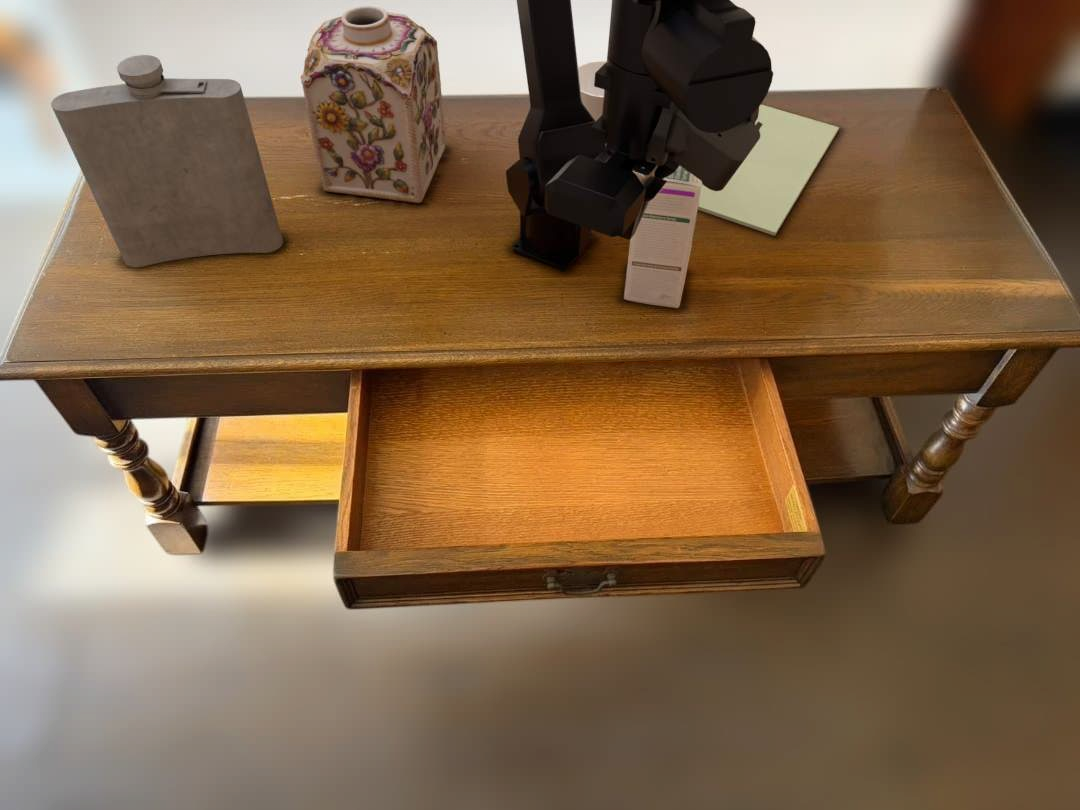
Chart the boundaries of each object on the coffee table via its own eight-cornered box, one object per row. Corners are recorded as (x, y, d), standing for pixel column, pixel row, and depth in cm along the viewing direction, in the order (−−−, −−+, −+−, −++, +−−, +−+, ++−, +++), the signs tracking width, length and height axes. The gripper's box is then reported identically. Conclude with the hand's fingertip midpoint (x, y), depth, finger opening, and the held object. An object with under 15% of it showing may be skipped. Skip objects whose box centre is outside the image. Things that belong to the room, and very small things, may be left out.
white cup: (614, 184, 95) (622, 104, 88) (554, 163, 98) (557, 84, 90) (643, 151, 100) (653, 72, 92) (585, 131, 102) (590, 53, 95)
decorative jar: (422, 207, 92) (405, 49, 78) (321, 194, 93) (286, 36, 79) (448, 146, 100) (437, -7, 86) (354, 135, 101) (328, -18, 87)
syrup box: (680, 310, 82) (705, 186, 71) (620, 301, 83) (636, 177, 72) (685, 272, 86) (710, 149, 75) (628, 264, 87) (644, 141, 75)
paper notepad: (672, 201, 94) (673, 197, 93) (747, 103, 107) (748, 100, 107) (774, 236, 90) (775, 232, 90) (838, 130, 104) (839, 127, 103)
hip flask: (122, 269, 84) (34, 84, 69) (126, 244, 87) (43, 60, 72) (283, 251, 87) (232, 68, 71) (282, 227, 89) (234, 45, 74)
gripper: (707, 156, 49) (670, 341, 61) (804, 29, 60) (756, 207, 72) (543, 104, 53) (538, 288, 65) (663, -8, 63) (640, 168, 75)
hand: (626, 236), depth 69 cm, fingers closed
